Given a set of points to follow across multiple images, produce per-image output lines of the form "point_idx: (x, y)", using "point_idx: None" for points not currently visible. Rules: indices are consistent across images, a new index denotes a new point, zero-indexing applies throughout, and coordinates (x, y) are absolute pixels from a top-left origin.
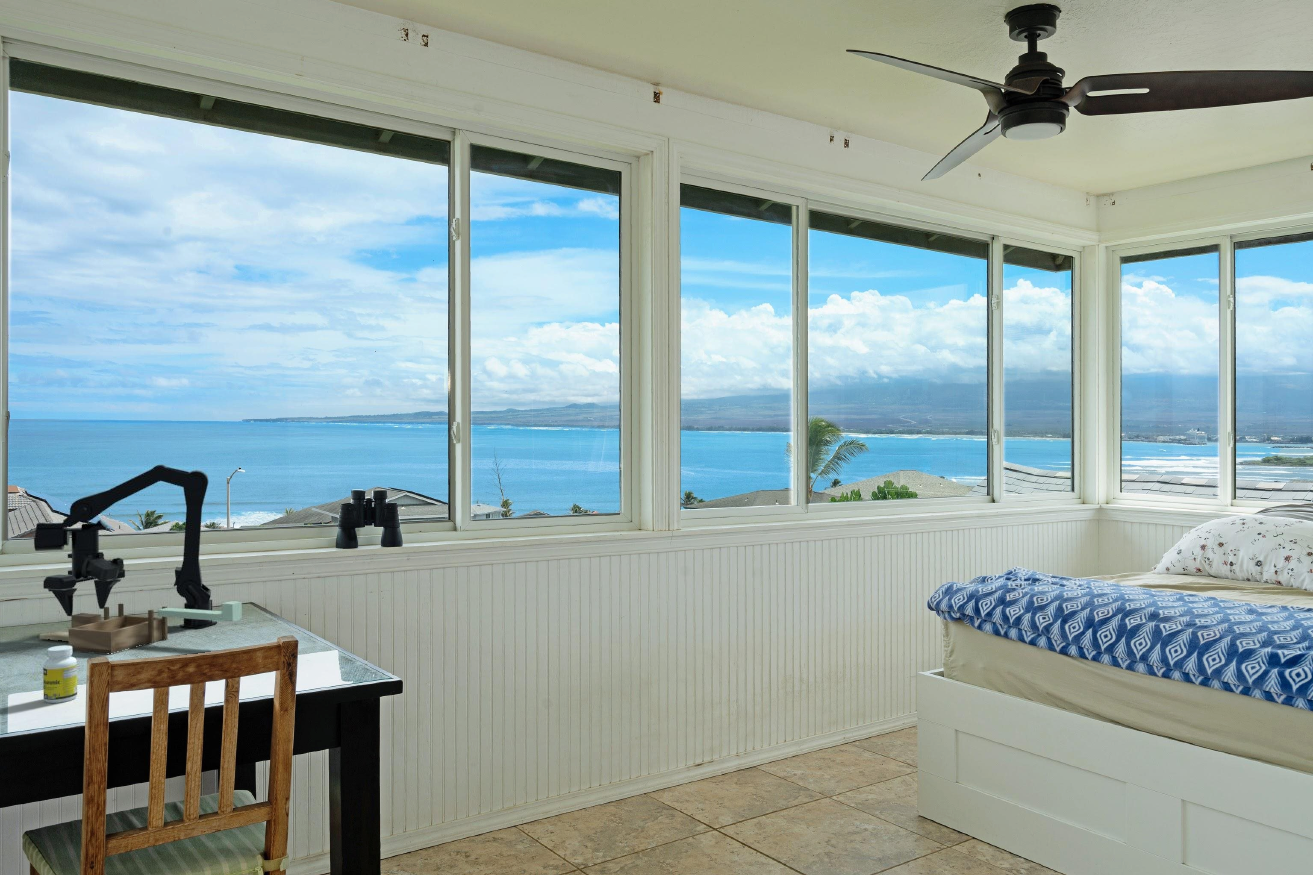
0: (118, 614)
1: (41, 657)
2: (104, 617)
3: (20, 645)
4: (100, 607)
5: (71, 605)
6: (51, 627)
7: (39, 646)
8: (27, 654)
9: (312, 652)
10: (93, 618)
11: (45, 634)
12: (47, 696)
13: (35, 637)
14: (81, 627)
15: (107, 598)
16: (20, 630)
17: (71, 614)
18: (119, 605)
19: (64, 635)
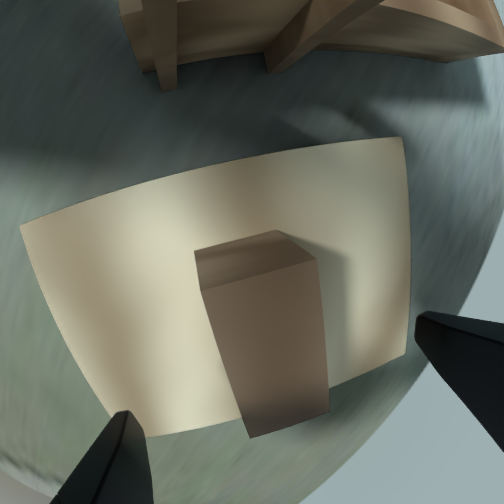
0: (174, 29)
1: (495, 84)
2: (349, 15)
3: (449, 305)
4: (139, 430)
5: (491, 330)
6: (237, 485)
7: (450, 234)
8: (499, 157)
9: None
10: (281, 261)
11: (401, 336)
12: None
13: (361, 395)
14: (479, 20)
15: (76, 469)
16: (303, 487)
17: (429, 313)
18: None
19: (397, 245)
